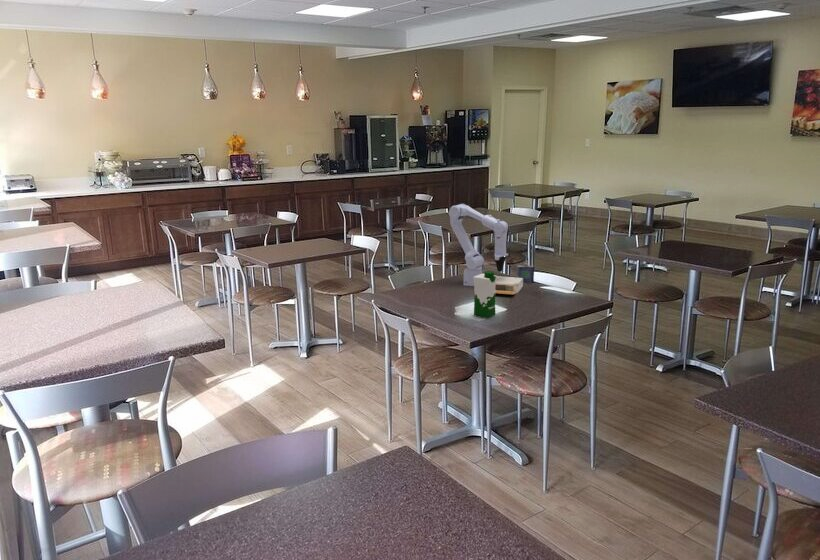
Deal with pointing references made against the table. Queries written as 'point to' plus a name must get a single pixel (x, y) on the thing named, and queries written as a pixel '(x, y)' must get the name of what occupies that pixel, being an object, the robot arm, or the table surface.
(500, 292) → the door
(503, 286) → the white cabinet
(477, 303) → the milk carton
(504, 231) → the robot arm
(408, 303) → the table surface
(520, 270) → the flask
